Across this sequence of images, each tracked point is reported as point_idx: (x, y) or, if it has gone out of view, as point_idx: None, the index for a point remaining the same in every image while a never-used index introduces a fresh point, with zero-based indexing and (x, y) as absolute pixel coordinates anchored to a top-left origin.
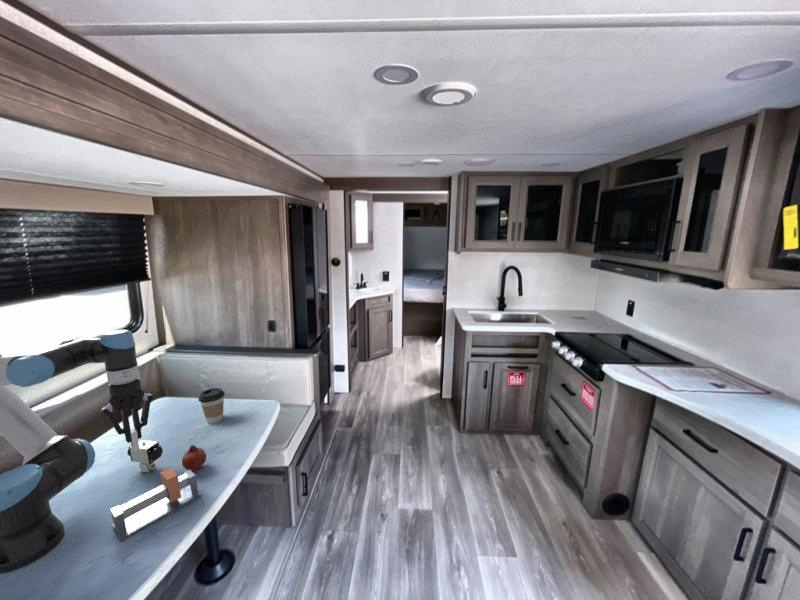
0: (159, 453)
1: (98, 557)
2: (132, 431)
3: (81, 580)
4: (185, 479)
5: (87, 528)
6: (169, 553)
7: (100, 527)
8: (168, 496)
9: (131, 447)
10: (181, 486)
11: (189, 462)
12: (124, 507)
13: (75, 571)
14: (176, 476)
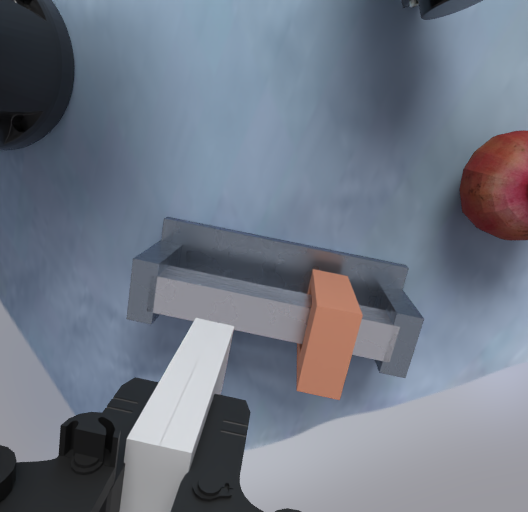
0: (467, 2)
1: (103, 304)
2: (142, 508)
3: (59, 340)
4: (370, 357)
5: (121, 140)
6: None
7: (145, 178)
8: None
9: (192, 325)
10: None
11: (479, 219)
12: (165, 300)
13: (56, 297)
14: (334, 395)
